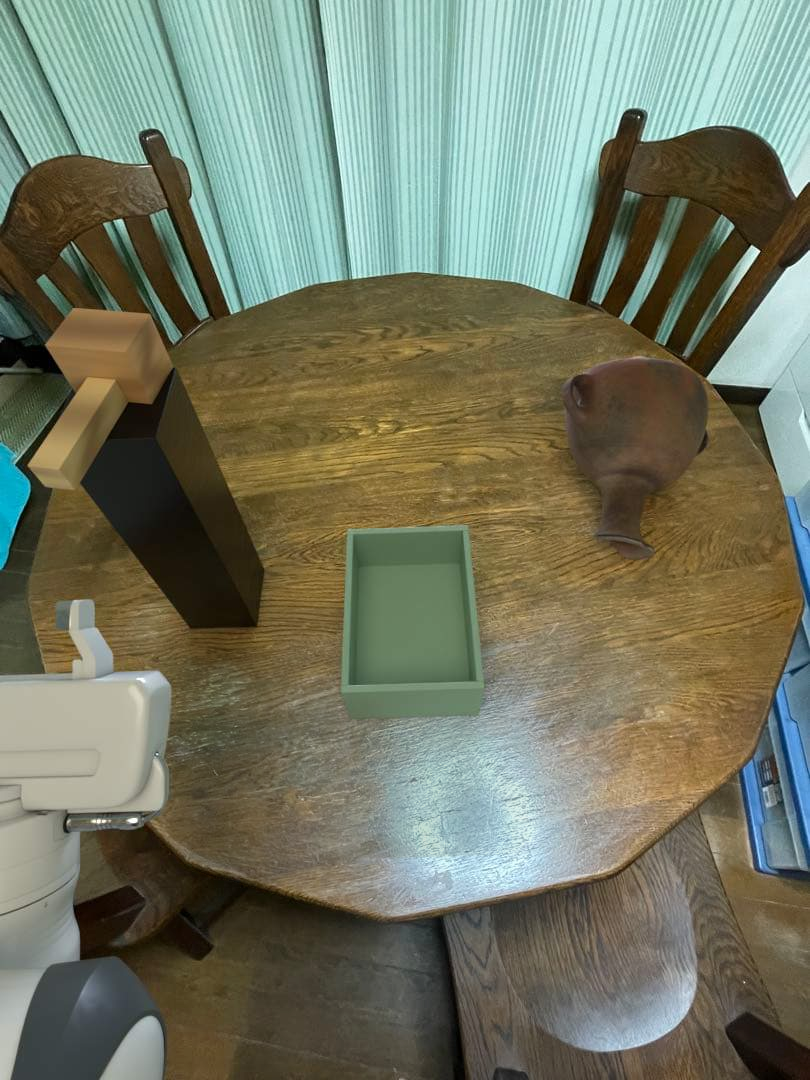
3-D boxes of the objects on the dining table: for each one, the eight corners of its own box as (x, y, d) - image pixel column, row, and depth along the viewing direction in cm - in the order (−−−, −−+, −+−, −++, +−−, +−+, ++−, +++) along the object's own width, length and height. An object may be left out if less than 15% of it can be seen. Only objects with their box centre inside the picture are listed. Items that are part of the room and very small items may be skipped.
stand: (257, 626, 79) (155, 438, 49) (190, 629, 79) (48, 442, 49) (264, 569, 84) (176, 366, 54) (201, 571, 84) (79, 370, 54)
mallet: (101, 494, 46) (65, 444, 41) (19, 484, 47) (-26, 434, 42) (173, 366, 54) (150, 313, 49) (102, 360, 55) (73, 307, 50)
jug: (575, 406, 100) (545, 565, 89) (572, 318, 84) (535, 499, 72) (707, 411, 93) (693, 584, 82) (732, 315, 77) (720, 517, 65)
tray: (478, 715, 71) (484, 688, 64) (349, 719, 72) (340, 692, 64) (464, 564, 84) (468, 525, 76) (354, 567, 84) (347, 529, 76)
